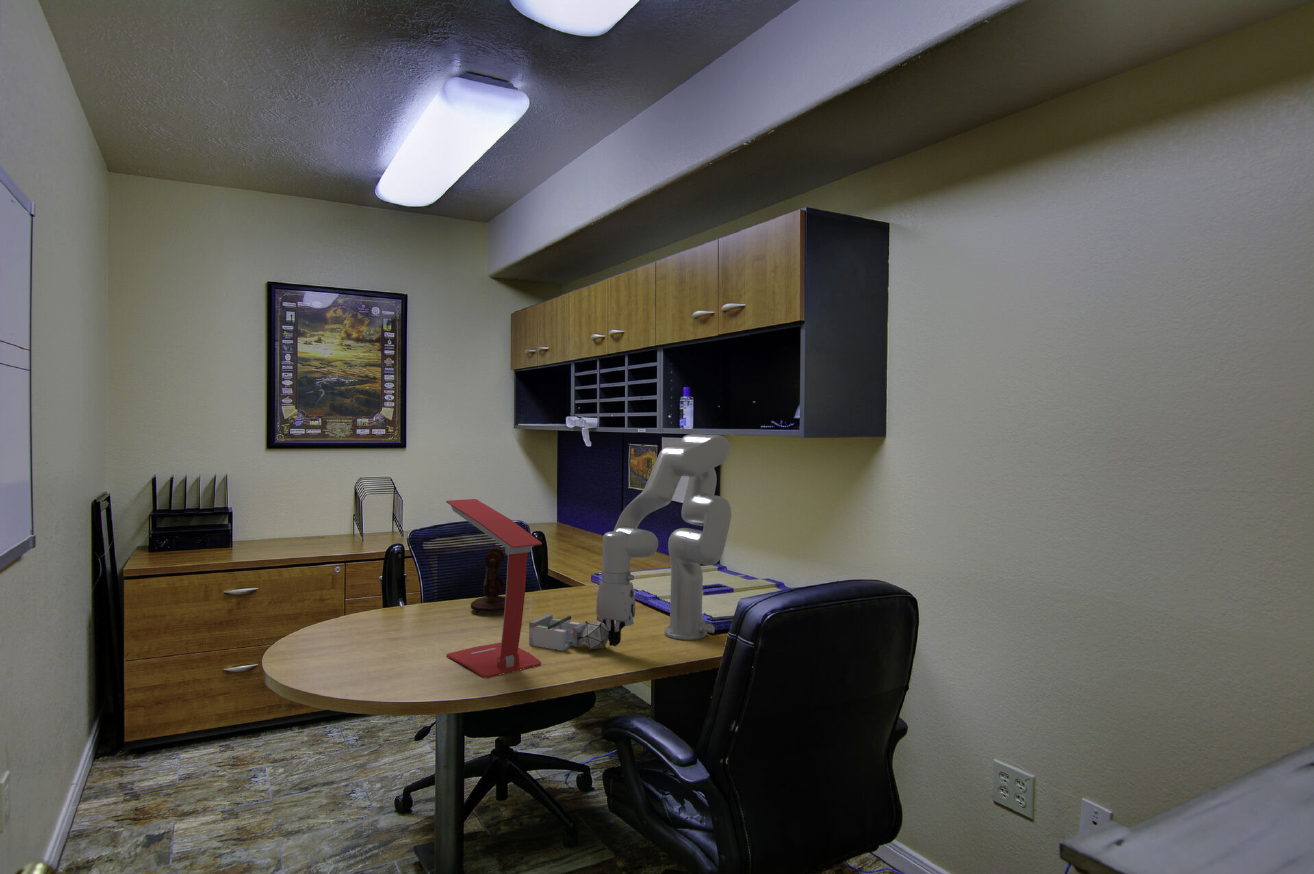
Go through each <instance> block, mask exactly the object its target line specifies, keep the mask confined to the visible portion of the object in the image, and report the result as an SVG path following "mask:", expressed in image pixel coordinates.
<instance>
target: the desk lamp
mask: <svg viewBox="0 0 1314 874" xmlns="http://www.w3.org/2000/svg"><path fill="white" fill-rule="evenodd" d="M445 502H446V503H447V504H448V505H450V506H451V507H450V508H451V509H452V511H453V512H454V513H455V514H457V515H458V516H460V517H461V518H462V519H463V520H465V521H467V522H468V523H469V524H470V525H472V526H473V527H475V528H477V529H478V530H479V531H481V532H482V533H484V534H485V535H487V536H488V537H489V538H491V539H493V540H494V541H496V542H497V543H498V544H499V545H501V546H503V547H505V549H504V552H505V554H506V555H507V567H506V585H505V596H506V598H505V610H504V611H503V623H502V632H501V640H500V642H497V643H491V644H484V645H479V646H473V647H470V648H466V649H465V648H464V649H461V650H457V651H453V652H449V653H446V658H448V657H449V659H450V660H452V661H454V662H456V663H458V664H460V665H462V666H464V667H465V668H468V669H469V670H471V671H472V672H474V673H476V674H477V675H478V676H480V677H481V678H484V677H489V678H492V677H491V676H493V677H495V676H494V675H498V676H500V675H499V674H502V673H506V674H509V673H508V672H510V673H513V672H512V671H515V672H517V670H519V671H521V670H520V669H523V668H527V669H531V668H530V667H532V668H534V667H533V666H536V667H539V665H540V664H541V665H542V662H541V660H540V659H538V658H537V657H535V656H534V655H533V654H531V653H530V652H529V651H526V650H525V649H522V648H520V647H519V644H520V639H521V638H520V637H521V632H522V624H523V616H524V606H525V598H526V597H525V596H526V585H527V584H526V582H527V567H528V553H530V552H531V551H532V548H533V547H535V546H542V545H543V544H542V541H541V540H539V539H538V538H537V537H534V536H533V534H531V533H529V532H528V531H526V529H525V528H523V527H522V526H520V525H518V524H517V523H516V522H515V521H513V520H512V519H511V518H509V517H507V516H506V515H504V514H502V513H500V512H499V511H498V510H496V509H493V508H492V507H490V506H489V505H487V504H486V503H484V502H482V501H480V500H479V499H476V498H469V499H453V500H452V499H450V500H446V501H445ZM541 665H540V666H541ZM523 670H524V669H523ZM502 675H503V674H502Z"/></svg>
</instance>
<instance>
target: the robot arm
mask: <svg viewBox="0 0 1314 874" xmlns="http://www.w3.org/2000/svg"><path fill="white" fill-rule="evenodd" d="M730 452H731V445H730V442H729V440H728V439H727V438H726V437H725V436H722V435H720V434H703V433H690V434H686V435H684V436H683V437H682V438H681V439H680V441H679V446H678V445H677V446H676V445H669V446H665V447H663V448H662V449H661V450H660V451H659V453H658V456H657V458H656V460H655V462H654V465H653V467H652V470H651V472H650V474H649V477H648V478H647V481H646V483H645V487H644V488H643V490H642V491H641V492H640V493H639V494H638V495H637V496H636V497H635V498H633V500H631V501H630V502H629V504H628V505H626V506H625V508H624V509H623V510H622V512H621V513H620V515H619V517H618V520H617V522H616V524H615V526H614V529H613V530H612V531H608V532H605V533H604V534H603V537H602V563H601V564H602V568H601V569H602V570H601V581H599V586H598V589H597V594H596V603H595V604H596V607H595V610H596V622H602V623H603V624H604V625H605V626H606V627H607V630H608V631H609V636H608V642H609V644H608V645H609V647H610V646H613V647H616V646H618V645H619V644H620V643H621V640H622V630H623V629H624V628H625V627H630V626H632V625H634V623H635V622H634V618H635V616H636V597H635V595H636V594H635V588H634V585H633V581H634V579H635V575H633V574H631V558H642V559H643V558H649V557H651V556H653V555H655V553H656V552H657V551H658V548H659V539H658V537H657V536H656V534H655V533H654V532H652V531H649V530H646V529H640V528H638V526H639V525H640V523H641V522H642V521H643V519H645V518H646V517H647V516H648V515H650V514H651V513H653V512H655V511H657V510H659V509H662V508H664V507H666V506H667V505H669V504H670V503H671V502H672V500H673V497H674V495H675V493H676V489H677V487H678V485H679V483H680V480H681V478H682V477H688V481H687V486H686V489H685V495H684V497H683V502H682V505H681V518H682V520H683V521H684V522H685V523H688V524H690V525H693V526H694V525H695V526H698V527H699V526H700V527H703V529H702V530H700V529H696V528H691V527H690V528H688V527H682V528H677V529H675V530H673V532H672V533H671V534H670V536H669V538H668V543H667V546H668V547H667V549H668V555H669V561H670V598H669V599H670V600H669V601H670V604H669V605H670V606H669V607H670V609H669V613H670V614H669V626H666V627H665V629H664V635H665V636H667V637H669V638H671V639H675V640H682V641H693V640H699V639H704V638H705V637H706V636H707V633H710V634H714V633H715V630H716V627H715V626H714V624H710V623H706V618H703V617H702V616H703V581H704V575H703V570H702V567H701V565H704V566H714V565H717V563H718V562H719V561H720V560H721V558H722V556H723V555H724V554H723V553H724V552H725V551H724V550H725V546H726V544H727V543H726V542H727V537H728V534H729V531H730V525H731V522H732V508H731V504H730V502H729V501H728V500H727V499H726V498H725V497H723V496H721V495H720V496H719V495H715V493H716V488H717V482H718V481H717V480H718V478H717V472H716V470H715V468H716V467H718V466H720V465H722V464H723V463H724V462H726V460H728V458H729V456H730ZM631 581H632V582H631Z"/></svg>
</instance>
